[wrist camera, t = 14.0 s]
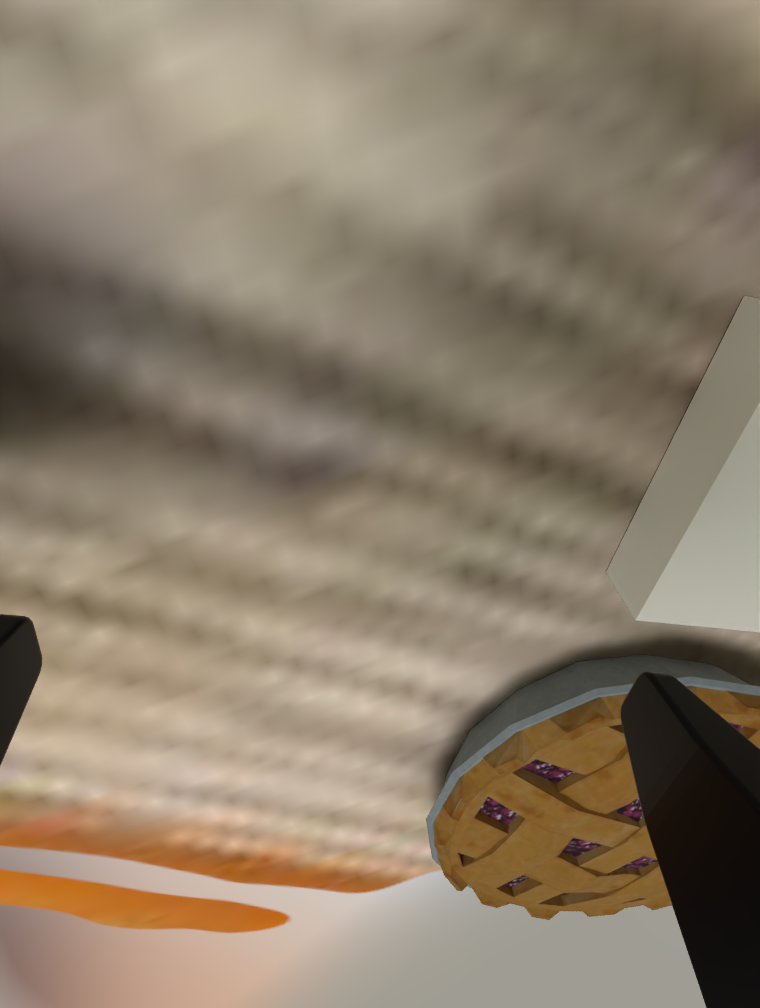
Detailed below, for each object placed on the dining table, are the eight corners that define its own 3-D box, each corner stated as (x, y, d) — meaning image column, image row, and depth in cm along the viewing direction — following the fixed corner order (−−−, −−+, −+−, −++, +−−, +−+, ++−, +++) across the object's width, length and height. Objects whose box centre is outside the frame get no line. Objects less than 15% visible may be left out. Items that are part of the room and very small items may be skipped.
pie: (363, 821, 35) (365, 912, 31) (555, 577, 25) (598, 663, 21) (631, 871, 41) (664, 954, 37) (877, 690, 31) (962, 775, 26)
